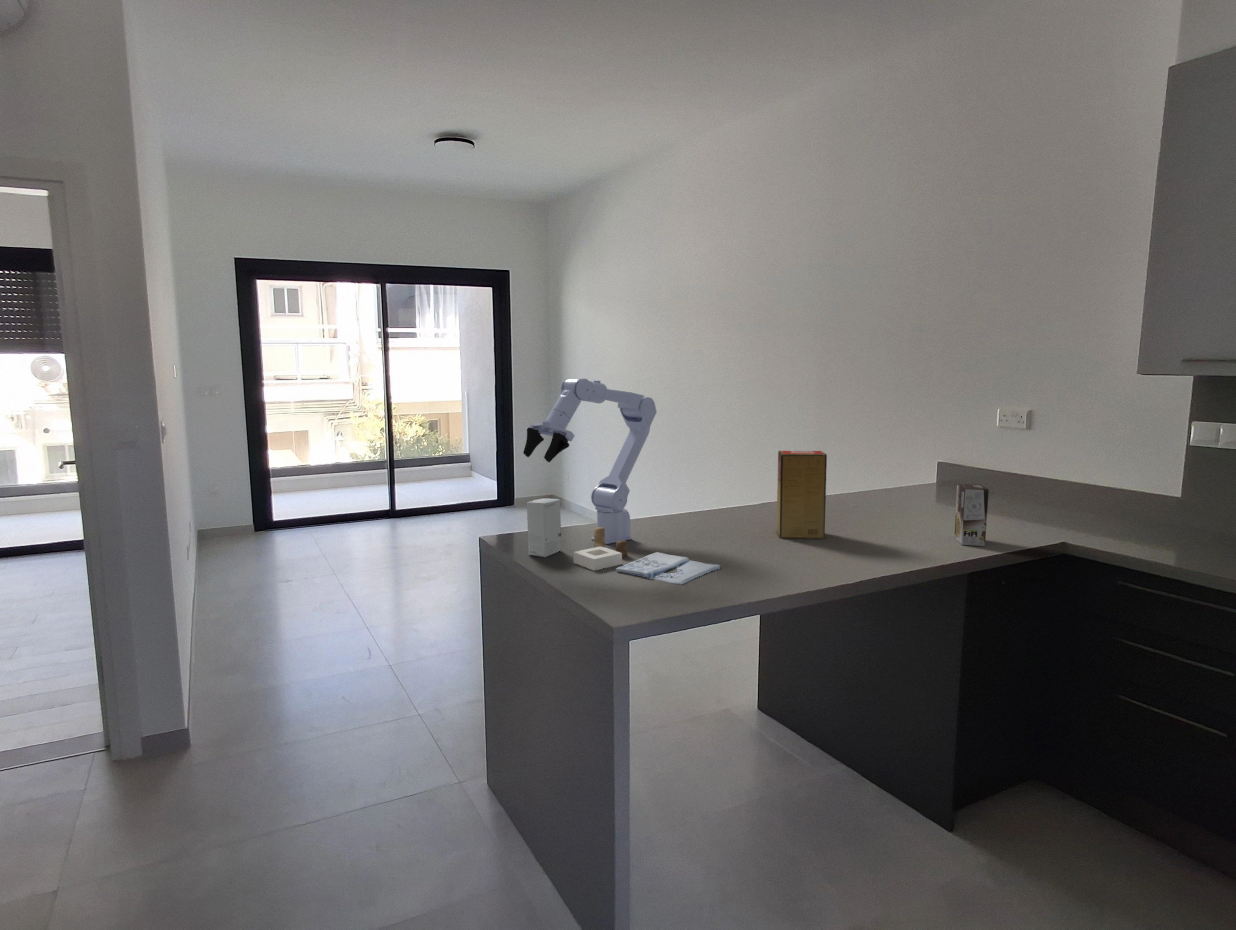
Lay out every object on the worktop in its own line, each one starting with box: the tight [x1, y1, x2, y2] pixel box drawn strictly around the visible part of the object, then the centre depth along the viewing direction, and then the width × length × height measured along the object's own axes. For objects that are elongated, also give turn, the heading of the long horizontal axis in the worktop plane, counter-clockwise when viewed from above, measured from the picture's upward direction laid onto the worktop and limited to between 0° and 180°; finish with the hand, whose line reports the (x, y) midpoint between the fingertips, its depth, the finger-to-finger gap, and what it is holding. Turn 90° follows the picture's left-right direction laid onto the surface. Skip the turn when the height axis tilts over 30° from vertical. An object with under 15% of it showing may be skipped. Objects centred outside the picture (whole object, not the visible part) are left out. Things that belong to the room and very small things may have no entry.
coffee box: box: [953, 483, 990, 547], centre depth 209 cm, size 9×6×16 cm
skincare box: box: [526, 497, 562, 558], centre depth 203 cm, size 8×6×15 cm
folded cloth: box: [615, 551, 721, 586], centre depth 186 cm, size 19×20×2 cm
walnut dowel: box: [615, 540, 628, 558], centre depth 200 cm, size 3×3×4 cm
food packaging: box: [775, 450, 828, 540], centre depth 219 cm, size 13×9×25 cm
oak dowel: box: [593, 526, 606, 548], centre depth 202 cm, size 3×3×7 cm
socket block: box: [573, 546, 623, 572], centre depth 192 cm, size 9×9×3 cm
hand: (536, 457), depth 194 cm, fingers open, 7 cm apart
